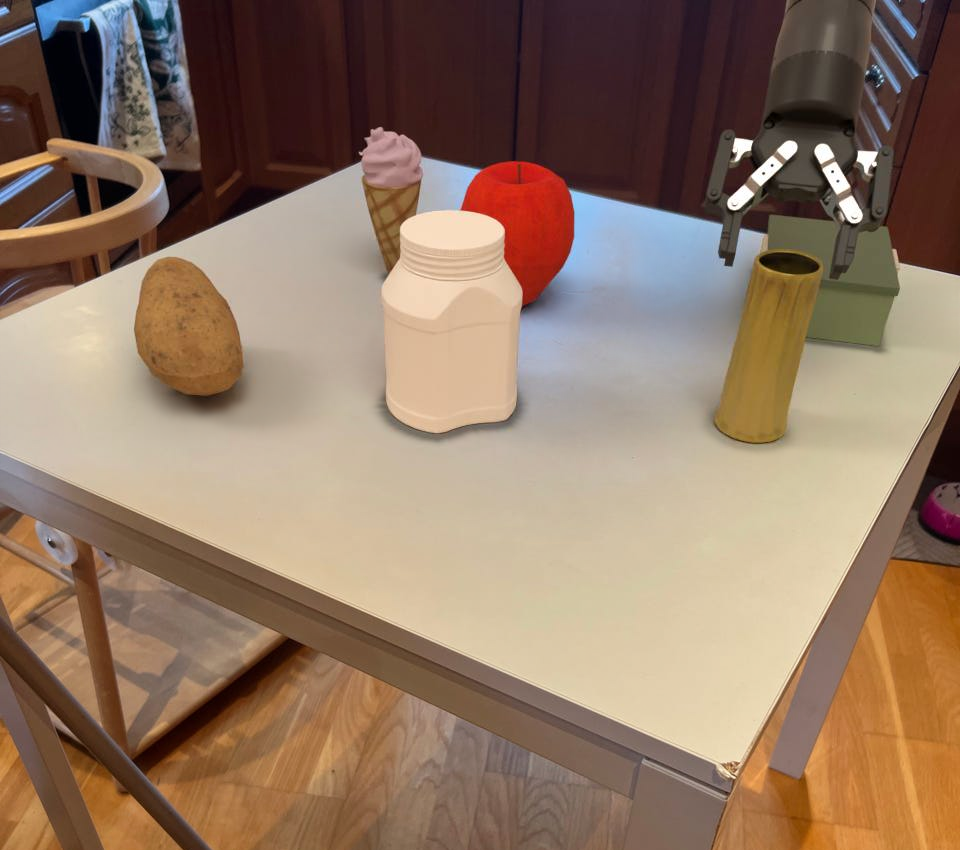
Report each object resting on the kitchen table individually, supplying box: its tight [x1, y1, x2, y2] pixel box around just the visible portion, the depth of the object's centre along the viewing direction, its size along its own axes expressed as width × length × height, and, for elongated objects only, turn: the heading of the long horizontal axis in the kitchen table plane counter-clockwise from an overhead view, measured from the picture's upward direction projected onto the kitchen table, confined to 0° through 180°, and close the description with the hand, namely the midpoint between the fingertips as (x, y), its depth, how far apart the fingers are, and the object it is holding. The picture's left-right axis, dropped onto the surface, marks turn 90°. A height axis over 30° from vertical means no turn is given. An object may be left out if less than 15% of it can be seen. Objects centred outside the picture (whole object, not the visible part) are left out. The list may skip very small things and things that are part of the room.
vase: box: [714, 249, 823, 444], centre depth 79 cm, size 6×6×14 cm
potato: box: [133, 256, 245, 397], centre depth 84 cm, size 9×16×9 cm, turn 18°
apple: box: [459, 160, 575, 307], centre depth 97 cm, size 12×12×13 cm
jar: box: [380, 209, 523, 434], centre depth 81 cm, size 12×10×15 cm
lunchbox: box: [758, 214, 901, 347], centre depth 100 cm, size 13×16×6 cm
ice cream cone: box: [358, 126, 424, 276], centre depth 101 cm, size 7×6×15 cm
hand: (782, 269), depth 79 cm, fingers open, 8 cm apart
